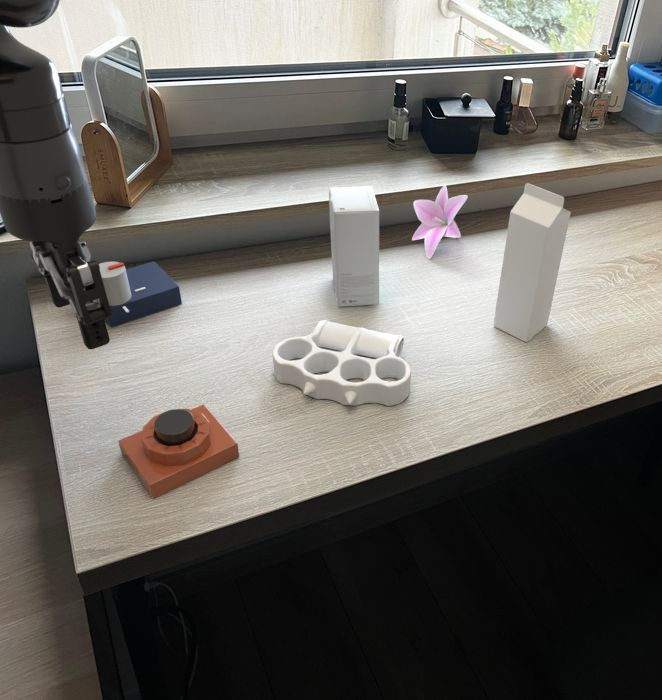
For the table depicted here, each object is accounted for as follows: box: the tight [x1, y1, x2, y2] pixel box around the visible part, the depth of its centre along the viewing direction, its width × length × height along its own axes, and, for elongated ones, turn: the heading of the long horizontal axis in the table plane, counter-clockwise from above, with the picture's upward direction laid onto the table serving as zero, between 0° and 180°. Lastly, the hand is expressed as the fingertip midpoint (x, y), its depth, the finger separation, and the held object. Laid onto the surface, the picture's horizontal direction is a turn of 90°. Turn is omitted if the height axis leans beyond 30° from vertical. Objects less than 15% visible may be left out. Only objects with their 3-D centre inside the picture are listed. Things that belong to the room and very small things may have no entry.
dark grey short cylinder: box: [154, 408, 196, 446], centre depth 78 cm, size 4×4×2 cm
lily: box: [411, 183, 469, 260], centre depth 122 cm, size 12×12×10 cm
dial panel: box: [89, 261, 183, 328], centre depth 100 cm, size 12×10×3 cm
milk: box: [492, 182, 572, 343], centre depth 100 cm, size 6×6×22 cm
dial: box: [98, 261, 131, 306], centre depth 96 cm, size 4×4×5 cm
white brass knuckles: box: [272, 319, 412, 407], centre depth 94 cm, size 3×18×15 cm
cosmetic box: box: [328, 185, 380, 308], centre depth 105 cm, size 8×7×16 cm
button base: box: [117, 404, 240, 499], centre depth 80 cm, size 10×8×4 cm
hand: (81, 323), depth 74 cm, fingers open, 8 cm apart
